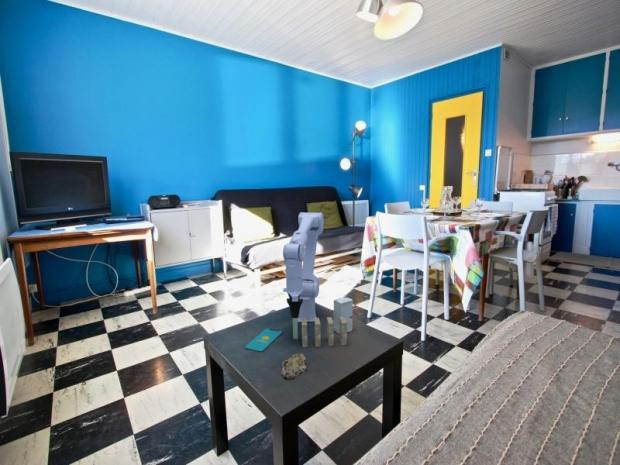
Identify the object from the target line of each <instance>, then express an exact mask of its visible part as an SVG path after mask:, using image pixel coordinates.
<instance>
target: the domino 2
mask: <svg viewBox="0 0 620 465" xmlns="http://www.w3.org/2000/svg"><path fill="white" fill-rule="evenodd" d="M301 344H302V346H301V347H302V348H308V322H307V321H306V318H302V322H301Z"/></svg>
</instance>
